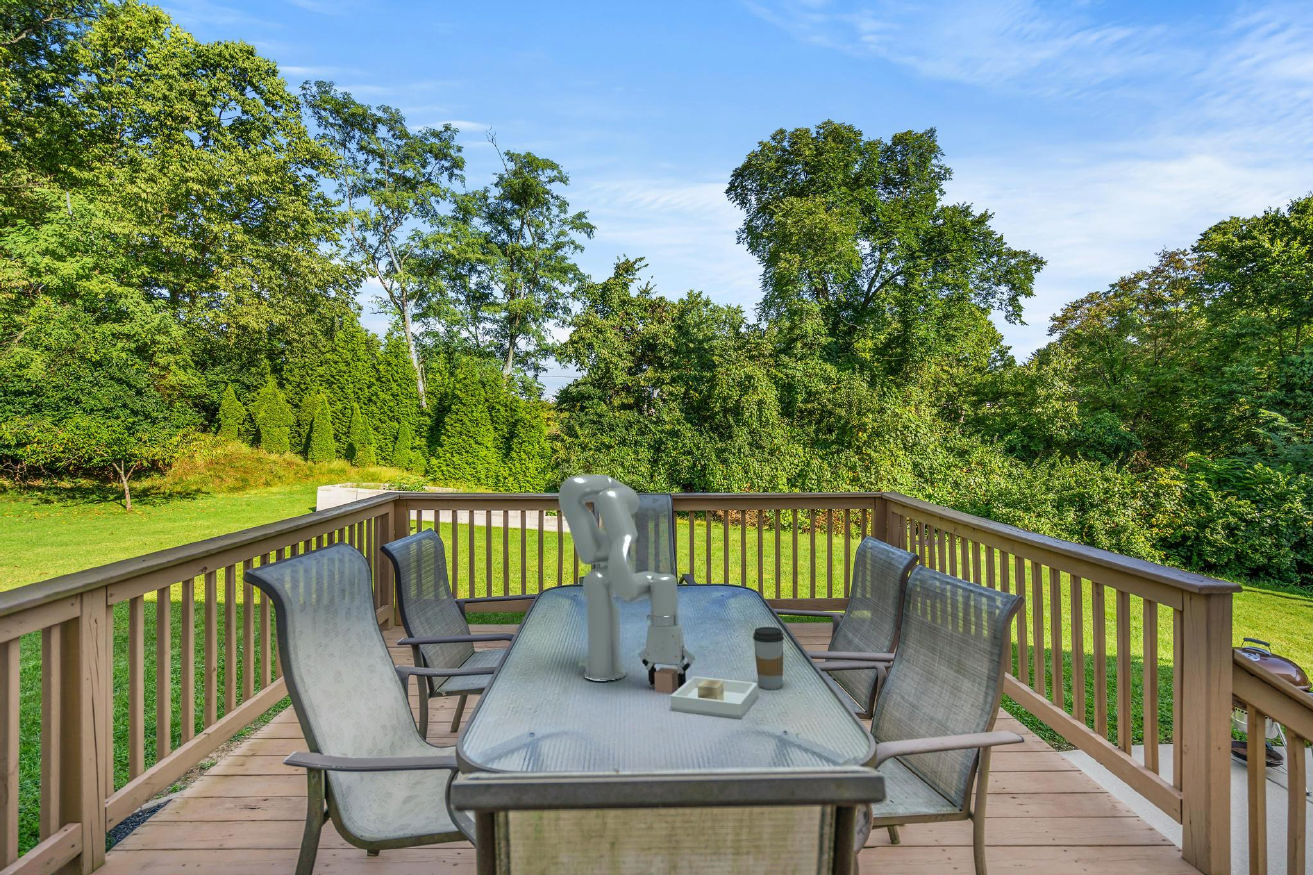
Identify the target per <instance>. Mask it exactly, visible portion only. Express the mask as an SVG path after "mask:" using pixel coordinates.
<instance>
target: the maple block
mask: <svg viewBox="0 0 1313 875" xmlns="http://www.w3.org/2000/svg"><path fill="white" fill-rule="evenodd" d="M698 698H706V699H714V700H723V701H724V690H723V682H722V681H713V680H704V681H702V682H701V683H700V684H699V685H698Z"/></svg>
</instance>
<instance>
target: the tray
mask: <svg viewBox="0 0 1313 875" xmlns="http://www.w3.org/2000/svg"><path fill="white" fill-rule="evenodd" d="M704 680H713V681H722V682H723V690H724V701H723V700H714V699H706V698H698V685H699V684H700V683H701V682H702V681H704ZM758 698H759V682H753V681H743V680H742V681H741V680H733V679H723V678H714V677H707V676H706V677H705V676H693V675H692V677H691V678H689V679H688V680H686V683H685V684H684V685H682V686H681V687H680V688H677V689H676V690H675V691H674V692H673V693H671V694H670V699H669V700H670V711H675V712H682V713H687V714H688V713H690V714H696V715H697V714H698V715H704V716H705V715H706V716H713V717H721V718H729V719H734V720H736V719H737V720H742V719H743V717H745V715H746V713H747V712H748V711H749V710H750V708H751V707H752V706H753V705H754V703H755V702H756V701H757V699H758Z"/></svg>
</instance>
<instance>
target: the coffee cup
mask: <svg viewBox="0 0 1313 875" xmlns="http://www.w3.org/2000/svg"><path fill="white" fill-rule="evenodd" d="M752 639H753V642H754V654H755V663H756V674H757V680H758V682H757V683H758V686H759V687H760V688H761V689H764V690H767V691H768V690H769V691H770V690H771V691H774V690H778V689H781V688H782V685H783V675H784V639H785V638H784V633H783V632H782V629H781V628H779V627H774V626H760V627H757V628H755V629H754V633H753V635H752Z"/></svg>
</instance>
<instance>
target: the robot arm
mask: <svg viewBox="0 0 1313 875" xmlns="http://www.w3.org/2000/svg"><path fill="white" fill-rule="evenodd" d="M586 503H595V505H596V508H597V512H598V514H599V516H600V518H601V521H602V524H603V527H604V529H605V530H604V531H601V529H600V527H599V525H598V522H597V518H596V517H595V515H594V514H593V512H592V511H591V510H590V508H589V507H588V506H586ZM558 504H559V507H560V510H561V513H562V514H563V516H564V519H565V521H566V523H567V526H568V528H569V532H570V535H571V538H572V542H573V545H574V548H575V551H576V553H577V556H578V559H579V561H580V562H581V563H582V564H583V565H588V566H590V565H593V566H594V565H598V564H603V563H604V566H600V567H595V568H593V569H591V570H590V571H588V572H587V573H586V574H585V576H584V578H583V580H582V581H583V582H582V588H583V590H582V591H583V594H584V599H585V605H586V618H587V620H586V621H587V623H586V624H587V640H588V641H587V645H588V646H587V648H588V650H587V652H588V658H587V659H586V658H584V657H583V658H581V657H580V658H579V659H578V662H577V667H578V668H584V669H585V670H584V671H583V676H584V675H585V676H586V677H588V678H592V679H600V680H612V679H618V680H620V679H619V678H621V679H623V678H624V676H625V677H626V676H627V669H626V668H625V667H624V666H622V654H621V653H622V651H621V625H620V624H621V623H620V622H621V621H620V610H619V607H618V605H617V602H616V601H615V598H616V597H617V598H618V599H619V600H620V601H622V602H624V603H628V604H632V603H636V602H639V601H643V600H647V599H650V601H649V602H650V614H647V615H646V620H647V621H650V624H649V625H648V626H647V627H648V628H647V632H646V644H645V645H646V646H645V648H644V649H642V650H641V651H640V652H637V655H638V657H639V659H640V661H641V663H642V664H643V666H644V667H645V669H646V670H647V672H648V673H647V674H648V681H649V686H655V675H654V673H655V672H656V671H657V668H656V664H657V665H667V666H675V667H676V669H678V688H677V689H679V688H680V687H681V686H682V685H684V684H685V683H686V682H687V677H686V674H687V673H686V672H687V671H688V670H689V668H690V667H691V666H692V664H694V661H695V660H696V657H695V656H694V655H693V654H692V653H691V652H689V651H688V650H687V649H686V648H685V639H684V634H683V629H682V625H681V624H679V603H678V602H679V600H678V580H677V577H676V576H675V575H674V574H671V573H657V572H654V571H650V570H649V571H648V570H647V571H646V570H645V571H641V572H636V573H635V570H634V569H635V568H634V567H633V563H632V562H631V561H632V560H631V559H630V555H629V553H628V552H629V549H630V547H631V545H632V544H633V543H635V541H636V540H637V539H638V536H639V534H638V531H637V528H636V525H635V522H634V520H633V518H632V517H633V516H632V515H634V514H635V513H637V511H638V510H639V509H640V508H639V507H640V498H639V496H638V494H637V492H636V491H635V490H634V489H633V488H632V487H629V486H628V485H626V484H624V483H622V482H620V481H618V480H617V479H615V478H613V477H611V476H608V475H605V474H579V475H578V474H576V475H572V476H569V477H567V478H566V479H565V480H564V481H563V482H562V484H561V485H560V488H559V491H558ZM685 659H687V661H686V663H685V662H684V661H685Z"/></svg>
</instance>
